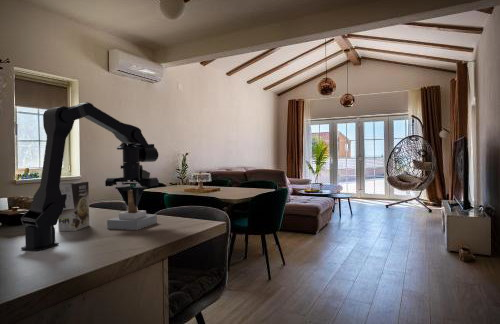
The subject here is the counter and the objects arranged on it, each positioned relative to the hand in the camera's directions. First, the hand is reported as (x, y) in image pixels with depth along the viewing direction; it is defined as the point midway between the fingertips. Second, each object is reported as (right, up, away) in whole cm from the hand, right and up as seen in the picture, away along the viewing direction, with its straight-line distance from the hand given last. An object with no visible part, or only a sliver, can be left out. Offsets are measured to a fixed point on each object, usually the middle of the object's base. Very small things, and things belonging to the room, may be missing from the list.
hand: (132, 206), depth 116 cm
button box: (0, -7, 0) cm, 7 cm away
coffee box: (-19, -8, -2) cm, 21 cm away
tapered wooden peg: (0, -2, 0) cm, 2 cm away
